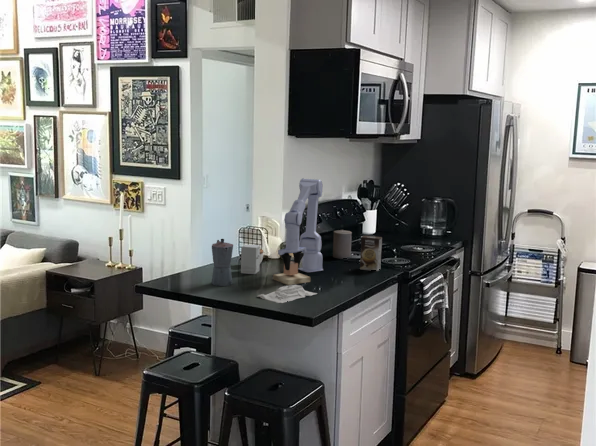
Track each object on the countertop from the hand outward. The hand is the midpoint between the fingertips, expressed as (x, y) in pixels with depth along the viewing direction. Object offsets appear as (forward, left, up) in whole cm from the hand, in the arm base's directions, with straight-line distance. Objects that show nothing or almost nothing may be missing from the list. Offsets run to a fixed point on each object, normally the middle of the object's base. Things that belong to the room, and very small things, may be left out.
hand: (291, 269), depth 276 cm
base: (0, 0, -5) cm, 5 cm away
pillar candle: (-53, -31, -6) cm, 62 cm away
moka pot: (+30, -10, -6) cm, 32 cm away
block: (0, -1, -2) cm, 2 cm away
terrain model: (+15, +20, -6) cm, 26 cm away
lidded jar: (0, -35, -6) cm, 35 cm away
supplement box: (+8, -23, -6) cm, 25 cm away
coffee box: (-47, -1, -6) cm, 47 cm away
